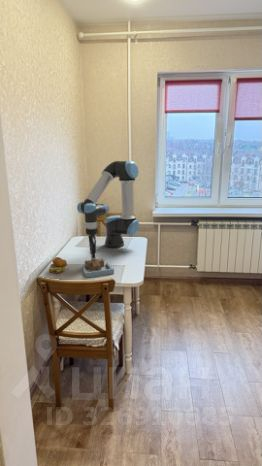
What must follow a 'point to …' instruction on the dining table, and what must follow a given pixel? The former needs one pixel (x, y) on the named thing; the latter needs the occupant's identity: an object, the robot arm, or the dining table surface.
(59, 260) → the cheeseburger
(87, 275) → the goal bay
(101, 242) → the dining table surface
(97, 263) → the t block
